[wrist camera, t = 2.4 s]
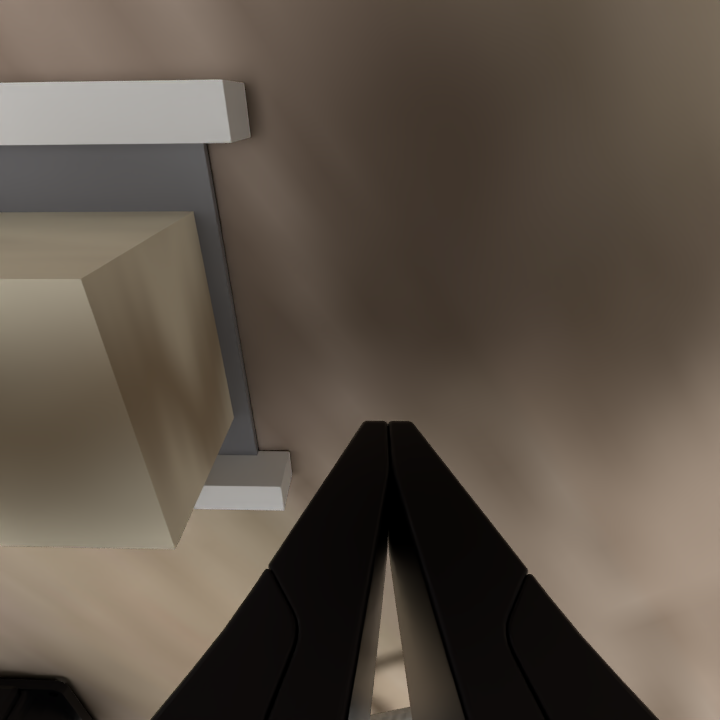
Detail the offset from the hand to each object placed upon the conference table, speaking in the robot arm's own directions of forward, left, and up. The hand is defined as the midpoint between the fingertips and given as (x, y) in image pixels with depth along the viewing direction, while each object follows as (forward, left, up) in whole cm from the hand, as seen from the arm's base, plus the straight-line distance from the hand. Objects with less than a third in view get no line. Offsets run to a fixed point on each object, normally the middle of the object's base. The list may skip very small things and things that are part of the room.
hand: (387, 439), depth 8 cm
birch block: (0, +7, -4) cm, 9 cm away
